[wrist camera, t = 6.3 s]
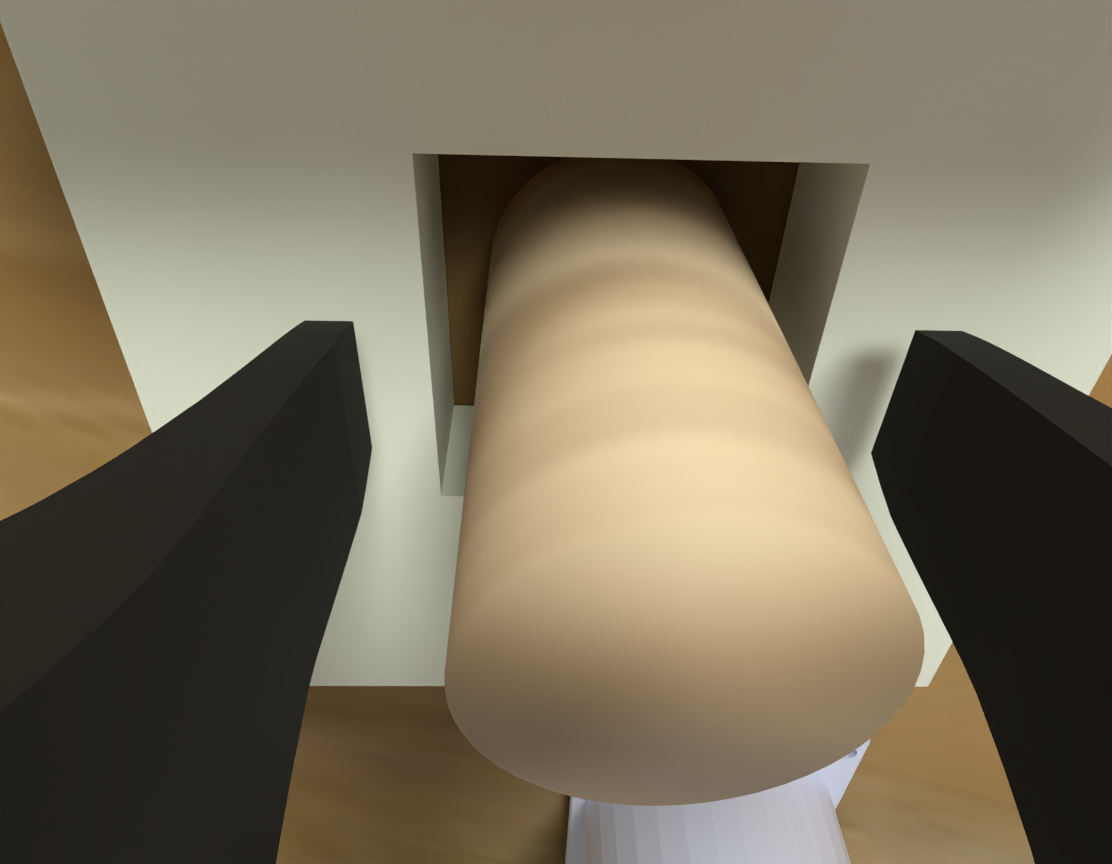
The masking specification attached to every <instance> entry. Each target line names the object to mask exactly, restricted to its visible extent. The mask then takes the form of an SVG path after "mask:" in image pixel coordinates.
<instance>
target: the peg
mask: <svg viewBox="0 0 1112 864" xmlns="http://www.w3.org/2000/svg"><path fill="white" fill-rule="evenodd" d="M924 653H925V650H924V631H923V627H922V624H921V620H920V616H919V613H918V611H917V609H916V607H915V605H914V603H913V601H912V599H911V597H910V595H909V593H908V591H907V589H906V587H905V584H904V582H903V580H902V578H901V576H900V574H899V572H898V570H897V568H896V566H895V564H894V562H893V560H892V558H891V556H890V554H889V552H888V549H887V547H886V545H885V543H884V541H883V539H882V537H881V535H880V533H879V531H878V529H877V527H876V525H875V523H874V521H873V519H872V517H871V514H870V512H869V510H868V508H867V506H866V504H865V502H864V500H863V498H862V496H861V494H860V492H859V490H858V488H857V486H856V484H855V482H854V479H853V477H852V475H851V473H850V471H849V469H848V467H847V465H846V463H845V461H844V459H843V457H842V455H841V453H840V451H839V449H838V447H837V444H836V442H835V440H834V438H833V436H832V434H831V432H830V430H829V428H828V426H827V424H826V422H825V420H824V418H823V416H822V414H821V412H820V409H819V407H818V405H817V403H816V401H815V399H814V397H813V395H812V393H811V391H810V389H809V387H808V385H807V383H806V381H805V379H804V377H803V374H802V372H801V370H800V368H799V366H798V364H797V362H796V360H795V358H794V356H793V354H792V352H791V350H790V348H789V346H788V344H787V342H786V339H785V337H784V335H783V333H782V331H781V329H780V327H779V325H778V323H777V321H776V319H775V317H774V315H773V313H772V311H771V309H770V307H769V304H768V302H767V300H766V298H765V296H764V294H763V292H762V290H761V288H760V286H759V284H758V282H757V280H756V278H755V276H754V274H753V272H752V269H751V267H750V265H749V263H748V261H747V259H746V257H745V255H744V253H743V251H742V249H741V247H740V245H739V243H738V241H737V239H736V237H735V234H734V232H733V230H732V228H731V226H730V224H729V222H728V220H727V218H726V216H725V214H724V212H723V210H722V208H721V206H720V204H719V202H718V200H717V198H716V197H715V196H714V194H713V193H712V192H711V190H710V189H709V187H708V186H707V185H706V184H705V183H704V182H703V181H702V180H701V179H700V178H699V177H698V176H697V175H696V174H695V173H693V172H692V171H691V170H689V169H688V168H687V167H685V166H684V165H682V164H680V163H679V162H677V161H675V160H673V159H635V158H591V157H564V158H562V159H560V160H558V161H556V162H554V163H552V164H551V165H549V166H547V167H546V168H544V169H543V170H541V171H540V172H538V173H537V174H536V175H535V176H534V177H532V178H531V179H530V180H529V181H528V182H526V183H525V185H524V186H523V187H522V188H521V189H520V190H519V191H518V192H517V193H516V194H515V196H514V197H513V199H512V200H511V201H510V203H509V204H508V206H507V207H506V209H505V211H504V213H503V215H502V217H501V219H500V221H499V223H498V226H497V229H496V232H495V235H494V239H493V244H492V249H491V257H490V266H489V275H488V284H487V293H486V302H485V311H484V320H483V329H482V338H481V347H480V356H479V365H478V374H477V383H476V392H475V401H474V410H473V419H472V429H471V438H470V447H469V456H468V465H467V474H466V483H465V492H464V501H463V510H462V519H461V528H460V537H459V546H458V555H457V564H456V573H455V582H454V591H453V600H452V609H451V618H450V627H449V636H448V645H447V655H446V664H445V686H444V690H445V695H446V699H447V704H448V708H449V710H450V712H451V715H452V717H453V719H454V721H455V724H456V725H457V727H458V728H459V729H460V731H461V732H462V734H463V735H464V737H465V738H466V739H467V740H468V741H469V742H470V743H471V744H472V745H473V747H474V748H475V749H476V750H477V751H478V752H479V753H480V754H482V755H483V756H484V757H486V758H487V759H488V760H490V761H491V762H492V763H494V764H495V765H496V766H498V767H500V768H501V769H503V770H505V771H507V772H508V773H510V774H512V775H513V776H515V777H517V778H520V779H522V780H524V781H526V782H529V783H531V784H533V785H535V786H538V787H541V788H544V789H547V790H550V791H553V792H556V793H559V794H564V795H568V796H572V797H576V798H580V799H585V800H591V801H597V802H603V803H612V804H622V805H640V806H668V805H687V804H697V803H707V802H713V801H719V800H725V799H731V798H736V797H740V796H745V795H749V794H753V793H758V792H761V791H765V790H768V789H771V788H774V787H778V786H781V785H784V784H787V783H789V782H792V781H795V780H797V779H800V778H802V777H805V776H808V775H810V774H812V773H814V772H816V771H818V770H820V769H822V768H825V767H827V766H829V765H831V764H833V763H834V762H836V761H838V760H839V759H841V758H843V757H845V756H846V755H848V754H850V753H851V752H853V751H854V750H856V749H857V748H858V747H860V746H861V745H863V744H864V743H865V742H867V741H868V740H870V739H871V738H872V737H873V736H874V735H875V734H877V733H878V732H879V731H880V730H881V729H882V728H883V727H884V726H886V725H887V724H888V723H889V721H890V720H891V719H892V718H893V717H894V716H895V715H896V713H897V712H898V711H899V710H900V709H901V708H902V706H903V705H904V703H905V702H906V700H907V699H908V697H909V695H910V694H911V692H912V691H913V689H914V686H915V684H916V682H917V679H918V677H919V675H920V672H921V668H922V663H923V658H924Z"/></svg>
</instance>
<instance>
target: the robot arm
mask: <svg viewBox="0 0 1112 864" xmlns="http://www.w3.org/2000/svg"><path fill="white" fill-rule="evenodd" d="M371 453H372V443H371V436H370V430H369V423H368V416H367V410H366V403H365V397H364V390H363V383H362V377H361V370H360V363H359V357H358V350H357V343H356V337H355V330H354V323H353V321H310V320H305V321H303V322H302V323H300V324H298V325H297V326H295V327H294V328H293V329H291V330H290V331H289V332H287V333H286V334H285V335H283V336H282V337H281V338H279V339H278V340H277V341H276V342H274V343H273V344H272V345H270V346H269V347H268V348H267V349H265V350H264V351H263V352H262V353H260V354H259V355H258V356H257V357H255V358H254V359H253V360H251V361H250V362H249V363H248V364H246V365H245V366H244V367H242V368H241V369H240V370H239V371H237V372H236V373H235V374H233V375H232V376H231V377H229V378H228V379H227V380H226V381H224V382H223V383H222V384H220V385H219V386H218V387H216V388H215V389H214V390H213V391H211V392H210V393H209V394H207V395H206V396H205V397H203V398H202V399H201V400H199V401H198V402H197V403H195V404H194V405H192V406H191V407H189V408H188V409H186V410H185V411H184V412H182V413H181V414H179V415H178V416H176V417H175V418H173V419H172V420H171V421H169V422H168V423H166V424H165V425H163V426H162V427H160V428H159V429H158V430H156V431H155V432H153V433H152V434H150V435H149V436H147V437H146V438H145V439H143V440H142V441H140V442H139V443H137V444H136V445H134V446H133V447H131V448H130V449H128V450H127V451H125V452H124V453H122V454H120V455H119V456H117V457H116V458H114V459H112V460H111V461H109V462H107V463H106V464H104V465H102V466H101V467H99V468H98V469H96V470H94V471H93V472H91V473H89V474H87V475H86V476H84V477H82V478H80V479H79V480H77V481H75V482H73V483H71V484H70V485H68V486H66V487H64V488H63V489H61V490H59V491H57V492H56V493H54V494H52V495H50V496H49V497H47V498H45V499H43V500H41V501H39V502H37V503H36V504H34V505H32V506H30V507H28V508H26V509H24V510H22V511H20V512H18V513H16V514H14V515H12V516H10V517H8V518H5V519H3V520H1V521H0V864H276V858H277V852H278V847H279V841H280V835H281V830H282V824H283V819H284V813H285V808H286V802H287V796H288V791H289V785H290V780H291V774H292V769H293V764H294V759H295V753H296V748H297V743H298V738H299V733H300V728H301V723H302V718H303V713H304V708H305V703H306V698H307V693H308V689H309V685H310V682H311V678H312V674H313V670H314V666H315V663H316V659H317V656H318V652H319V649H320V646H321V643H322V640H323V636H324V633H325V630H326V627H327V624H328V620H329V617H330V614H331V611H332V608H333V604H334V601H335V598H336V595H337V592H338V588H339V585H340V582H341V579H342V576H343V573H344V569H345V566H346V563H347V560H348V556H349V553H350V550H351V547H352V543H353V540H354V537H355V533H356V530H357V527H358V523H359V520H360V517H361V513H362V508H363V502H364V497H365V491H366V485H367V479H368V472H369V466H370V459H371ZM871 455H872V459H873V462H874V466H875V469H876V472H877V476H878V479H879V483H880V486H881V489H882V492H883V495H884V498H885V501H886V504H887V507H888V510H889V513H890V516H891V518H892V521H893V523H894V525H895V527H896V529H897V531H898V533H899V535H900V537H901V539H902V542H903V544H904V546H905V548H906V550H907V552H908V554H909V556H910V558H911V560H912V562H913V564H914V566H915V568H916V570H917V572H918V574H919V576H920V578H921V580H922V582H923V584H924V586H925V588H926V590H927V592H928V594H929V596H930V598H931V600H932V602H933V604H934V606H935V608H936V610H937V612H938V614H939V616H940V618H941V620H942V622H943V624H944V626H945V628H946V630H947V632H948V634H949V636H950V638H951V640H952V642H953V644H954V646H955V648H956V650H957V652H958V654H959V656H960V658H961V660H962V662H963V664H964V666H965V669H966V671H967V673H968V675H969V678H970V680H971V682H972V684H973V687H974V689H975V691H976V693H977V696H978V699H979V701H980V704H981V707H982V709H983V712H984V715H985V718H986V720H987V723H988V726H989V728H990V731H991V734H992V737H993V739H994V742H995V745H996V747H997V750H998V753H999V756H1000V758H1001V761H1002V764H1003V766H1004V769H1005V772H1006V775H1007V778H1008V781H1009V784H1010V787H1011V790H1012V793H1013V797H1014V800H1015V803H1016V806H1017V809H1018V812H1019V815H1020V818H1021V821H1022V824H1023V827H1024V830H1025V833H1026V836H1027V839H1028V842H1029V845H1030V848H1031V851H1032V855H1033V858H1034V862H1035V864H1112V408H1110V407H1108V406H1106V405H1105V404H1103V403H1101V402H1099V401H1097V400H1095V399H1094V398H1092V397H1090V396H1088V395H1086V394H1084V393H1083V392H1081V391H1079V390H1077V389H1075V388H1074V387H1072V386H1070V385H1068V384H1066V383H1065V382H1063V381H1061V380H1059V379H1057V378H1055V377H1054V376H1052V375H1050V374H1048V373H1046V372H1045V371H1043V370H1041V369H1039V368H1037V367H1035V366H1034V365H1032V364H1030V363H1028V362H1026V361H1024V360H1023V359H1021V358H1019V357H1017V356H1015V355H1013V354H1011V353H1009V352H1007V351H1005V350H1003V349H1002V348H1000V347H998V346H996V345H993V344H991V343H989V342H987V341H985V340H983V339H981V338H978V337H976V336H974V335H971V334H969V333H966V332H964V331H938V330H915V332H914V335H913V338H912V341H911V343H910V346H909V349H908V352H907V355H906V357H905V360H904V363H903V366H902V368H901V371H900V374H899V377H898V379H897V382H896V385H895V388H894V390H893V393H892V396H891V399H890V402H889V404H888V407H887V410H886V413H885V415H884V418H883V421H882V424H881V426H880V429H879V432H878V435H877V438H876V440H875V443H874V446H873V449H872V451H871ZM869 743H870V740H868V741H867V742H865V743H864V744H863V745H861V746H860V747H858V748H857V749H856V750H854V751H853V752H851V753H850V754H848V755H846V756H845V757H843V758H841V759H839V760H838V761H836V762H834V763H833V764H831V765H829V766H827V767H825V768H822V769H820V770H818V771H816V772H814V773H812V774H810V775H808V776H805V777H802V778H800V779H797V780H795V781H792V782H789V783H787V784H784V785H781V786H778V787H774V788H771V789H768V790H765V791H761V792H758V793H753V794H749V795H745V796H740V797H736V798H731V799H725V800H719V801H713V802H707V803H697V804H687V805H668V806H640V805H622V804H612V803H603V802H597V801H591V800H585V799H580V798H576V797H572V796H570V807H569V820H568V832H567V844H566V857H565V864H851V862H850V859H849V856H848V852H847V849H846V846H845V842H844V839H843V836H842V832H841V829H840V826H839V823H838V819H837V816H836V813H835V809H836V807H837V805H838V804H839V802H840V800H841V798H842V796H843V794H844V792H845V790H846V788H847V786H848V784H849V782H850V780H851V778H852V776H853V774H854V772H855V770H856V768H857V767H858V765H859V763H860V761H861V759H862V757H863V755H864V753H865V751H866V749H867V747H868V745H869Z"/></svg>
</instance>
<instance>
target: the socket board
mask: <svg viewBox="0 0 1112 864" xmlns="http://www.w3.org/2000/svg"><path fill="white" fill-rule="evenodd" d="M0 23H1V25H2V28H3V31H4V33H5V36H6V39H7V42H8V44H9V47H10V50H11V52H12V55H13V58H14V60H15V63H16V66H17V69H18V71H19V74H20V77H21V79H22V82H23V85H24V87H25V90H26V93H27V96H28V98H29V101H30V104H31V106H32V109H33V112H34V115H35V117H36V120H37V123H38V125H39V128H40V131H41V133H42V136H43V139H44V142H45V144H46V147H47V150H48V152H49V155H50V158H51V160H52V163H53V166H54V169H55V171H56V174H57V177H58V179H59V182H60V185H61V187H62V190H63V193H64V196H65V198H66V201H67V204H68V206H69V209H70V212H71V215H72V217H73V220H74V223H75V225H76V228H77V231H78V233H79V236H80V239H81V242H82V244H83V247H84V250H85V252H86V255H87V258H88V260H89V263H90V266H91V269H92V271H93V274H94V277H95V279H96V282H97V285H98V288H99V290H100V293H101V296H102V298H103V301H104V304H105V306H106V309H107V312H108V315H109V317H110V320H111V323H112V325H113V328H114V331H115V333H116V336H117V339H118V342H119V344H120V347H121V350H122V352H123V355H124V358H125V360H126V363H127V366H128V369H129V371H130V374H131V377H132V379H133V382H134V385H135V388H136V390H137V393H138V396H139V398H140V401H141V404H142V406H143V409H144V412H145V415H146V417H147V420H148V423H149V425H150V428H151V431H152V433H153V432H155V431H156V430H158V429H159V428H160V427H162V426H163V425H165V424H166V423H168V422H169V421H171V420H172V419H173V418H175V417H176V416H178V415H179V414H181V413H182V412H184V411H185V410H186V409H188V408H189V407H191V406H192V405H194V404H195V403H197V402H198V401H199V400H201V399H202V398H203V397H205V396H206V395H207V394H209V393H210V392H211V391H213V390H214V389H215V388H216V387H218V386H219V385H220V384H222V383H223V382H224V381H226V380H227V379H228V378H229V377H231V376H232V375H233V374H235V373H236V372H237V371H239V370H240V369H241V368H242V367H244V366H245V365H246V364H248V363H249V362H250V361H251V360H253V359H254V358H255V357H257V356H258V355H259V354H260V353H262V352H263V351H264V350H265V349H267V348H268V347H269V346H270V345H272V344H273V343H274V342H276V341H277V340H278V339H279V338H281V337H282V336H283V335H285V334H286V333H287V332H289V331H290V330H291V329H293V328H294V327H295V326H297V325H298V324H300V323H302V322H303V321H305V320H310V321H353V323H354V330H355V337H356V343H357V350H358V357H359V363H360V370H361V377H362V383H363V390H364V397H365V403H366V410H367V416H368V423H369V430H370V436H371V443H372V453H371V459H370V466H369V472H368V479H367V485H366V491H365V497H364V502H363V508H362V513H361V517H360V520H359V523H358V527H357V530H356V533H355V537H354V540H353V543H352V547H351V550H350V553H349V556H348V560H347V563H346V566H345V569H344V573H343V576H342V579H341V582H340V585H339V588H338V592H337V595H336V598H335V601H334V604H333V608H332V611H331V614H330V617H329V620H328V624H327V627H326V630H325V633H324V636H323V640H322V643H321V646H320V649H319V652H318V656H317V659H316V663H315V666H314V670H313V674H312V678H311V682H310V685H309V686H445V664H446V655H447V645H448V636H449V627H450V618H451V609H452V600H453V591H454V582H455V573H456V564H457V555H458V546H459V537H460V528H461V519H462V510H463V501H464V492H465V483H466V474H467V465H468V456H469V447H470V438H471V429H472V419H473V410H474V406H469V405H454V395H453V379H452V364H451V348H450V332H449V317H448V301H447V285H446V270H445V254H444V239H443V223H442V207H441V192H440V176H439V160H438V154H461V155H504V156H548V157H591V158H635V159H678V160H722V161H765V162H800V163H799V168H798V172H797V177H796V181H795V186H794V190H793V195H792V199H791V204H790V208H789V213H788V217H787V222H786V226H785V231H784V235H783V240H782V244H781V249H780V253H779V258H778V262H777V267H776V271H775V276H774V280H773V285H772V289H771V294H770V298H769V303H768V304H769V307H770V309H771V311H772V313H773V315H774V317H775V319H776V321H777V323H778V325H779V327H780V329H781V331H782V333H783V335H784V337H785V339H786V342H787V344H788V346H789V348H790V350H791V352H792V354H793V356H794V358H795V360H796V362H797V364H798V366H799V368H800V370H801V372H802V374H803V377H804V379H805V381H806V383H807V385H808V387H809V389H810V391H811V393H812V395H813V397H814V399H815V401H816V403H817V405H818V407H819V409H820V412H821V414H822V416H823V418H824V420H825V422H826V424H827V426H828V428H829V430H830V432H831V434H832V436H833V438H834V440H835V442H836V444H837V447H838V449H839V451H840V453H841V455H842V457H843V459H844V461H845V463H846V465H847V467H848V469H849V471H850V473H851V475H852V477H853V479H854V482H855V484H856V486H857V488H858V490H859V492H860V494H861V496H862V498H863V500H864V502H865V504H866V506H867V508H868V510H869V512H870V514H871V517H872V519H873V521H874V523H875V525H876V527H877V529H878V531H879V533H880V535H881V537H882V539H883V541H884V543H885V545H886V547H887V549H888V552H889V554H890V556H891V558H892V560H893V562H894V564H895V566H896V568H897V570H898V572H899V574H900V576H901V578H902V580H903V582H904V584H905V587H906V589H907V591H908V593H909V595H910V597H911V599H912V601H913V603H914V605H915V607H916V609H917V611H918V613H919V616H920V620H921V624H922V627H923V631H924V650H925V653H924V658H923V663H922V668H921V672H920V675H919V677H918V679H917V682H916V684H915V686H928V685H929V683H930V682H931V680H932V678H933V676H934V674H935V672H936V671H937V669H938V667H939V665H940V663H941V662H942V660H943V658H944V656H945V654H946V653H947V651H948V649H949V647H950V645H951V644H952V640H951V638H950V636H949V634H948V632H947V630H946V628H945V626H944V624H943V622H942V620H941V618H940V616H939V614H938V612H937V610H936V608H935V606H934V604H933V602H932V600H931V598H930V596H929V594H928V592H927V590H926V588H925V586H924V584H923V582H922V580H921V578H920V576H919V574H918V572H917V570H916V568H915V566H914V564H913V562H912V560H911V558H910V556H909V554H908V552H907V550H906V548H905V546H904V544H903V542H902V539H901V537H900V535H899V533H898V531H897V529H896V527H895V525H894V523H893V521H892V518H891V516H890V513H889V510H888V507H887V504H886V501H885V498H884V495H883V492H882V489H881V486H880V483H879V479H878V476H877V472H876V469H875V466H874V462H873V459H872V455H871V451H872V449H873V446H874V443H875V440H876V438H877V435H878V432H879V429H880V426H881V424H882V421H883V418H884V415H885V413H886V410H887V407H888V404H889V402H890V399H891V396H892V393H893V390H894V388H895V385H896V382H897V379H898V377H899V374H900V371H901V368H902V366H903V363H904V360H905V357H906V355H907V352H908V349H909V346H910V343H911V341H912V338H913V335H914V332H915V330H938V331H964V332H966V333H969V334H971V335H974V336H976V337H978V338H981V339H983V340H985V341H987V342H989V343H991V344H993V345H996V346H998V347H1000V348H1002V349H1003V350H1005V351H1007V352H1009V353H1011V354H1013V355H1015V356H1017V357H1019V358H1021V359H1023V360H1024V361H1026V362H1028V363H1030V364H1032V365H1034V366H1035V367H1037V368H1039V369H1041V370H1043V371H1045V372H1046V373H1048V374H1050V375H1052V376H1054V377H1055V378H1057V379H1059V380H1061V381H1063V382H1065V383H1066V384H1068V385H1070V386H1072V387H1074V388H1075V389H1077V390H1079V391H1081V392H1083V393H1084V394H1086V395H1088V396H1089V394H1090V392H1091V390H1092V388H1093V387H1094V385H1095V383H1096V381H1097V379H1098V378H1099V376H1100V374H1101V372H1102V370H1103V369H1104V367H1105V365H1106V363H1107V361H1108V359H1109V358H1110V356H1111V354H1112V0H0Z"/></svg>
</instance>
